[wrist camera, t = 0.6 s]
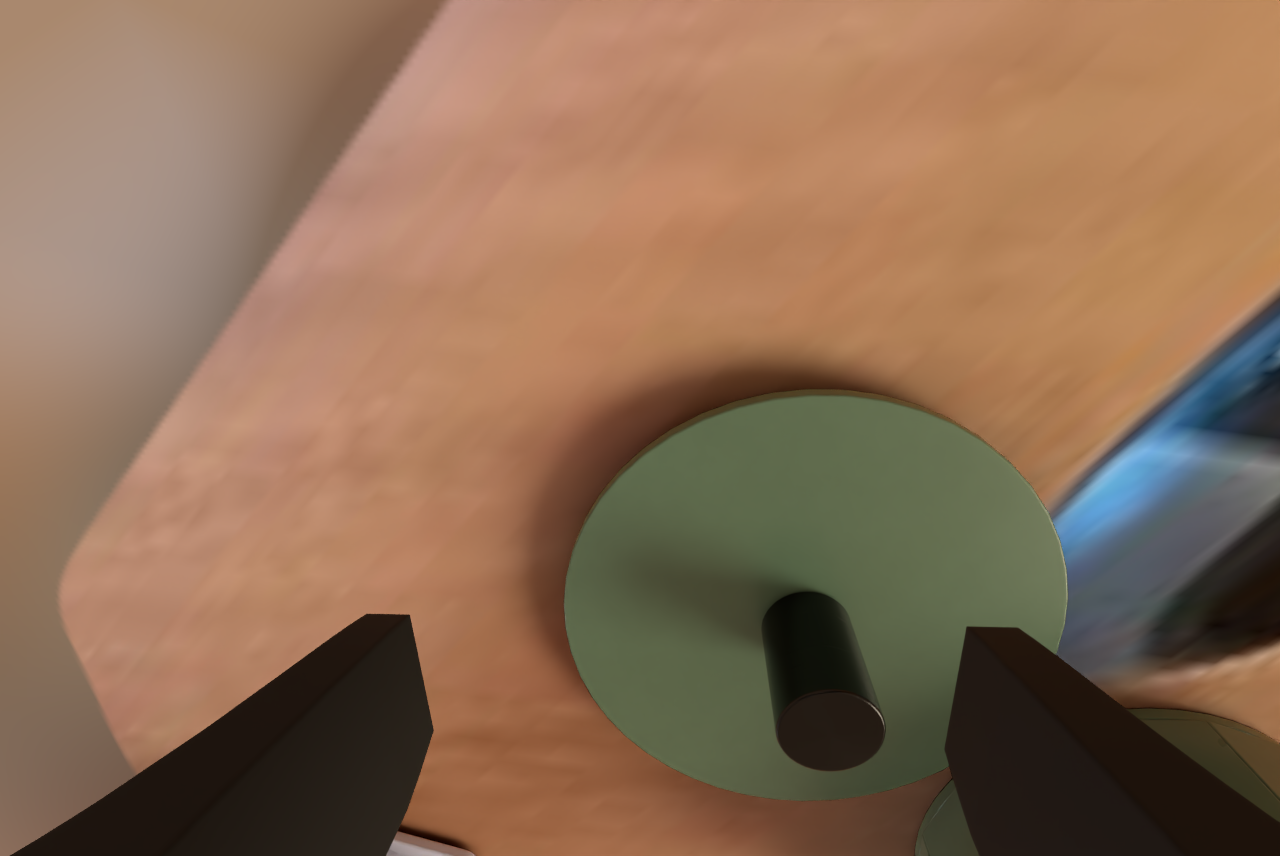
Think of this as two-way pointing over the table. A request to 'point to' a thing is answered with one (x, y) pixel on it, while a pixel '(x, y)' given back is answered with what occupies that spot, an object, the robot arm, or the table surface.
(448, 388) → the table surface
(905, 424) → the lid
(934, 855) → the pot
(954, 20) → the table surface
